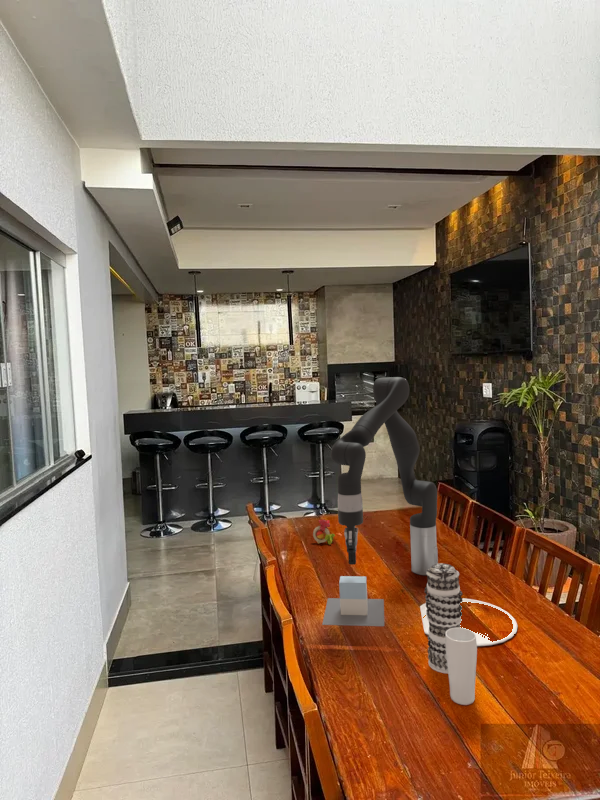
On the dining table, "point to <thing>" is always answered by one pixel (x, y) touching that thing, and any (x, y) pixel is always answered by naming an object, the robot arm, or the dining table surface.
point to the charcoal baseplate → (371, 619)
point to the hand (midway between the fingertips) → (352, 563)
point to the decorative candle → (441, 611)
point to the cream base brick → (354, 606)
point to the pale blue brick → (353, 587)
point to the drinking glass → (461, 664)
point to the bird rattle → (320, 534)
